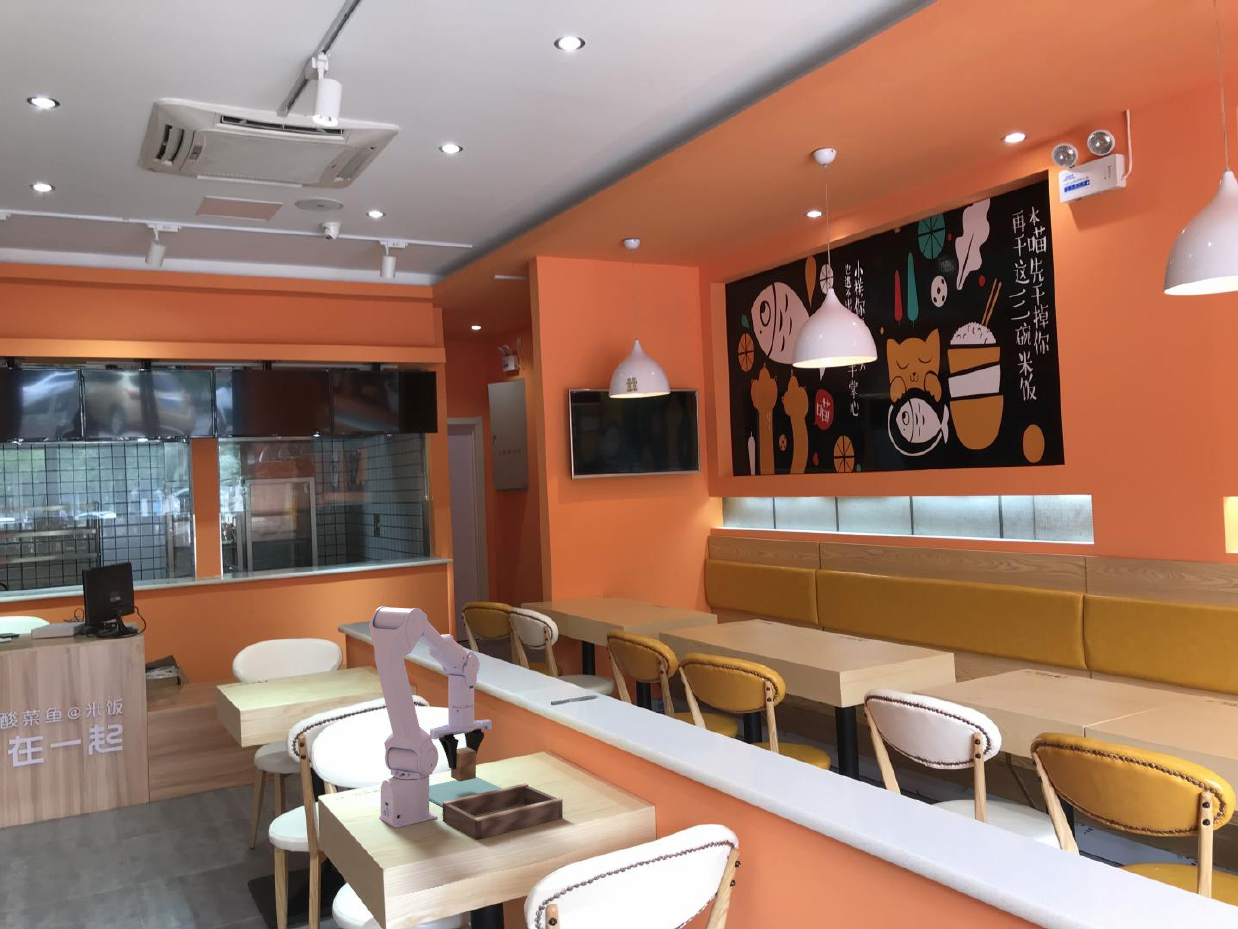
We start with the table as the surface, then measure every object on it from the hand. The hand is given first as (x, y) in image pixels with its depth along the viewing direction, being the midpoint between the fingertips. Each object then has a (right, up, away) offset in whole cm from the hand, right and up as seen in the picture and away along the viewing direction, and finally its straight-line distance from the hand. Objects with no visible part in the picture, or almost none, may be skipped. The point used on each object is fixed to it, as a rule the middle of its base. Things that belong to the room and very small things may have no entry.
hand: (461, 766), depth 216 cm
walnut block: (+1, -2, -1) cm, 2 cm away
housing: (+11, -5, -18) cm, 22 cm away
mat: (0, -6, 0) cm, 6 cm away
